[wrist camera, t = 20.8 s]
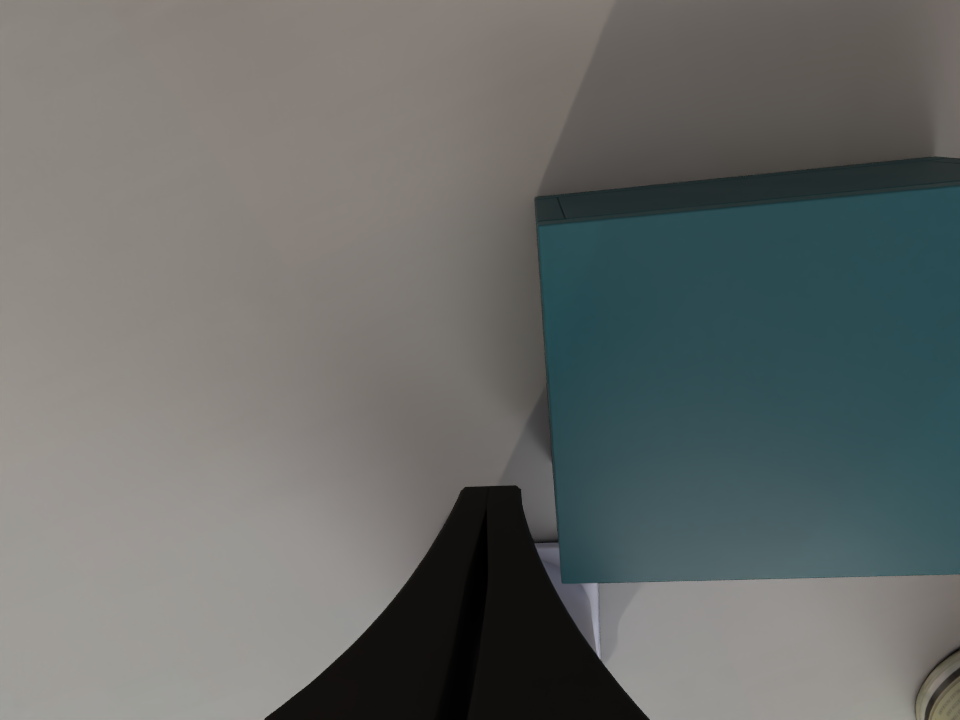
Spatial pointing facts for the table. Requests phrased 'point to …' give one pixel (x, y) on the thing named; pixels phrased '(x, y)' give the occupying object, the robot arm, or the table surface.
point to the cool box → (743, 193)
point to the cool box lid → (757, 388)
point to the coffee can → (941, 692)
